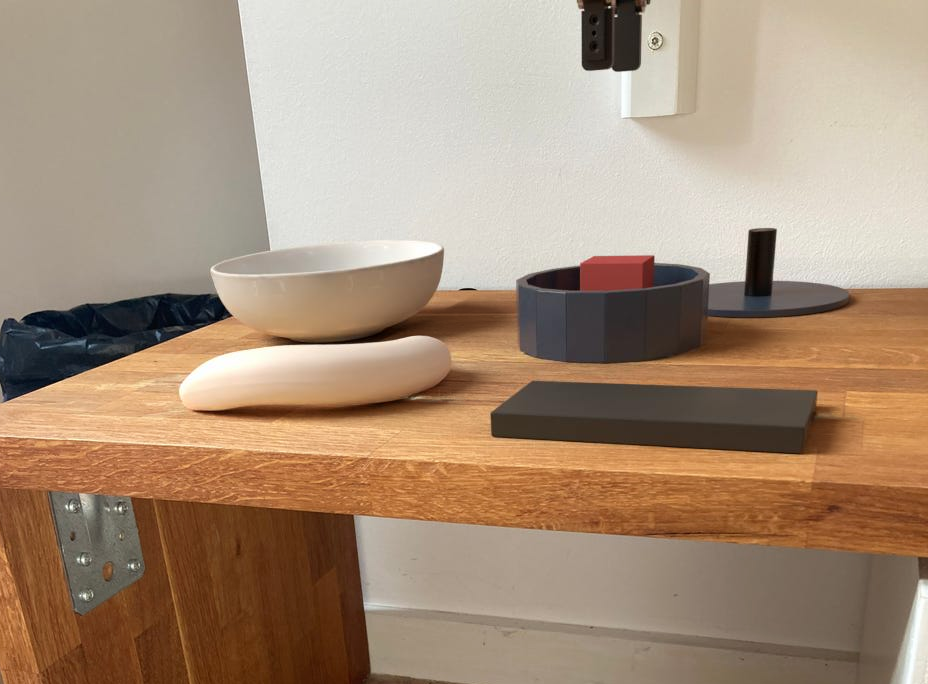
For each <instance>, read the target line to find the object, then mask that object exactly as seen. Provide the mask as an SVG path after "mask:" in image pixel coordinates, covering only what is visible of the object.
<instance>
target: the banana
mask: <svg viewBox="0 0 928 684" xmlns="http://www.w3.org/2000/svg"><path fill="white" fill-rule="evenodd" d="M452 362H453V361H452V354H451V350H450V349H449V347H448V346H447V344H446V343H445V342H443V341H442V340H440V339H438V338H435V337H431V336H428V335H412V336H407V337H403V338H398V339H393V340H386V341H378V342H377V341H375V342H362V343H345V344H344V343H343V344H289V345H272V346H264V347H257V348H256V347H255V348H250V349H244V350H243V349H242V350H238V351H232V352H229V353H225V354H222V355H219V356H215V357H214V358H211V359H209V360H206V361H205V362H203V363H202V364H201V365H199V366H198V367H196V368H195V369H194V370H193V371H192V372H191V373H189V375H188V376H187V377H186V378H185V379H184V380H183V382H181V384H180V386H179V389H178V394H179V398H180V400H181V402H182V404H183V405H184V408H187V409H188V410H190V411H226V410H233V409H237V408H244V407H252V406H253V407H254V406H273V405H277V406H279V405H280V406H281V405H283V406H284V405H285V406H286V405H287V406H298V405H299V406H352V405H353V406H354V405H366V404H367V405H368V404H379V403H388V402H392V401H398V400H402V399H406V398H409V397H412V396H414V395H415V394H418V393H419V394H420V393H422V392H424V391H428V390H430V389H432V388H434V387H436V386H437V385H438V384H440V383H441V382H442V381H443V380H444V379H445V378H446V377H447V375H448V374H449V372H450V371H451V370H452V369H451V368H452V365H453V363H452Z"/></svg>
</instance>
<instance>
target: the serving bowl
mask: <svg viewBox="0 0 928 684" xmlns="http://www.w3.org/2000/svg"><path fill="white" fill-rule="evenodd" d="M444 257H445V248H444V246H442V244H439V243H436V242H432V241H424V240H411V239H410V240H409V239H374V240H373V239H372V240H358V241H357V240H356V241H344V242H342V241H341V242H331V243H329V242H328V243H320V244H309V245H300V246H293V247H285V248H279V249H273V250H266V251H260V252H256V253H250V254H246V255H241V256H238V257H237V256H236V257H233V258H229V259H226V260H223V261H220V262H218V263H216V264H214V265H213V266H212V267H211V268H210V269H209V270H210V275H211V278H212V282H213V284H214V287H215V290H216V292H217V293H216V294H217V295H218V297H219V299H220V301H221V303H222V305H223V306H224V307H225V309H226V310H227V311H228V312H229V314H231V316H232V317H234V318H235V320H237V321H238V322H240V323H241V324H243V325H244V326H245V327H247V328H248V329H251V330H253V331H255V332H259V333H262V334H265V335H270V336H273V337H280V338H287V339H289V340H292V341H294V342H298V343H299V342H300V343H312V344H313V343H314V344H317V343H318V344H319V343H320V344H321V343H335V342H344V341H345V342H346V341H350V340H351V341H352V340H358V339H362V338H368V337H371V336H374V335H377V334H380V333H381V332H383V331H384V330H385V329H388V328H390V327H394V326H396V325H398V324H400V323H402V322H405V321H406V320H409V319H410V318H412V317H414V316H415V315H417V314H419V312H421V311H422V310H423V309H424V308H425V307H426V306H427V305H428V304H429V302H431V300H432V298H433V297H434V295H435V293H436V292H437V289H438V288H439V285H440V281H441V279H442V274H443V269H444V259H445V258H444Z"/></svg>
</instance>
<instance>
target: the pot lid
mask: <svg viewBox="0 0 928 684" xmlns="http://www.w3.org/2000/svg"><path fill="white" fill-rule="evenodd" d="M747 232H748V233H747V244H746V245H747V248H746V261H745V275H744V276H745V277H744V278H745V279H744V280H743V281H728V282H718V283H709V300H708V317H719V318H740V319H741V318H742V319H743V318H747V319H748V318H752V319H753V318H754V319H756V318H781V317H795V316H803V315H804V316H805V315H811V314H819V313H825V312H829V311H833V310H836V309H840V308H842V307H844V306H846V305H847V304H848V303H849V302H850V295H851V293H850V292H849V290H848V289H845V288H843V287H840V286H836V285H832V284H828V283H827V284H826V283H819V282H810V281H809V282H808V281H795V280H774V270H775V259H776V248H777V247H776V246H777V233H778V229H777V228H775V227H758V228H750V229H748V231H747Z"/></svg>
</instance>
